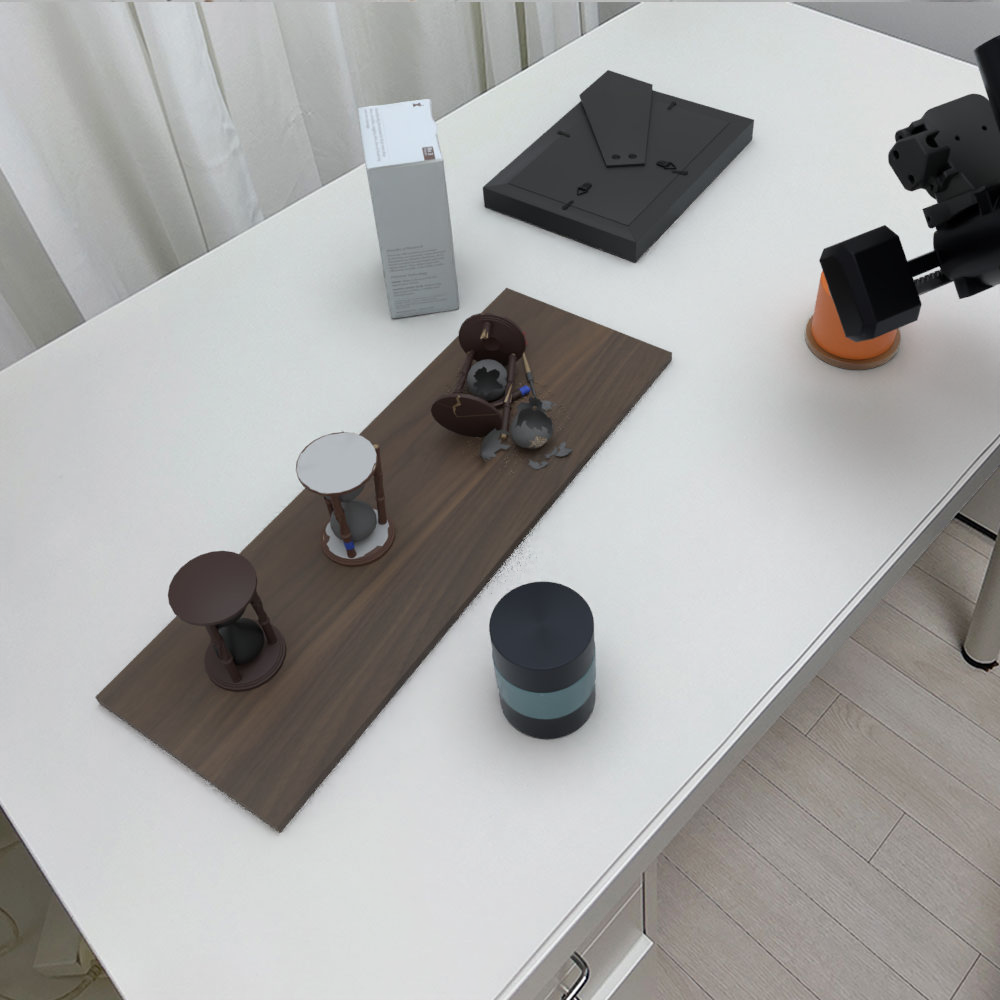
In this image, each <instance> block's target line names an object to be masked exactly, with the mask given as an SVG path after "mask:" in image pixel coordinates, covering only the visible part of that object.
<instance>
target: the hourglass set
mask: <svg viewBox="0 0 1000 1000" xmlns="http://www.w3.org/2000/svg"><path fill="white" fill-rule="evenodd" d="M672 360H673V352H671V351H670V350H667V349H665V348H661V347H659V346H657V345H654V344H652V343H648V342H646V341H644V340H641V339H639V338H636V337H634V336H631V335H628V334H625V333H623V332H620V331H619V330H615V329H613V328H610V327H608V326H605V325H603V324H601V323H598V322H595V321H593V320H590V319H587V318H585V317H582V316H580V315H577V314H575V313H573V312H570V311H568V310H565V309H563V308H559V307H557V306H556V305H555V306H554V305H552V304H549V303H547V302H545V301H542V300H539V299H537V298H534V297H533V296H528V295H526V294H524V293H522V292H519V291H516V290H513V289H511V288H509V287H506V288H504V289H503V291H501V292H500V293H499V295H497V296H496V297H495V299H493V300H492V301H491V303H489V304H488V306H486V308H485V309H483V310H482V311H481V312H480V313H476V314H472V315H471V316H469V317H467V318H466V319H465V320H464V321H463V322H462V323H461V325H460V326H459V331H458V335H457V336H456V337H455V338H454V339H453V340H452V341H451V342H450V343H449V344H448V345H447V346H446V347H445V348H444V349H443V350H442V351H441V352H440V353H438V355H437V356H436V357H435V358H434V359H433V360H432V361H431V362H430V363H429V364H428V365H427V366H426V367H425V368H424V369H423V370H422V371H421V372H420V373H419V374H418V375H417V376H416V377H415V378H414V379H413V380H412V381H411V382H410V383H409V384H408V385H407V386H406V387H405V388H404V389H403V390H401V392H400V393H399V394H398V395H397V396H396V397H395V398H394V399H393V400H392V401H391V402H390V403H389V404H387V406H386V407H385V408H384V409H383V410H382V411H381V412H380V413H379V414H377V416H376V417H375V418H373V420H372V421H370V423H369V424H367V426H366V427H365V428H364V429H363V430H362V431H361V432H360V433H359V434H357V433H355V432H347V431H341V432H339V431H338V432H331V433H327V434H325V435H321V436H319V437H318V438H316V439H314V440H312V441H311V442H309V444H307V445H306V446H305V447H304V448H303V449H302V451H301V452H300V453H299V455H298V458H297V460H296V462H295V463H296V464H295V472H296V476H297V479H298V481H299V483H300V484H301V485H302V487H303V488H304V489H302V491H300V493H298V494H297V496H295V497H294V498H293V499H292V500H291V502H289V503H288V504H287V506H285V508H284V509H282V510H281V512H280V513H278V515H277V516H275V517H274V518H273V519H272V520H271V521H270V523H269V524H267V525H266V526H265V527H264V528H263V530H261V531H260V532H259V533H258V534H257V535H256V536H255V537H254V538H253V540H252V541H250V542H249V543H248V544H247V545H246V546H245V547H244V548H243V549H242V550H241V551H240V552H238V553H237V552H235V551H228V550H217V551H216V550H215V551H214V550H213V551H209V552H205V553H202V554H200V555H198V556H196V557H194V558H192V559H190V560H188V561H187V562H186V563H185V564H184V565H182V566H180V568H179V569H178V571H177V572H176V573H175V574H174V575H173V577H172V579H171V581H170V583H169V586H168V592H167V599H168V605H169V606H170V608H171V610H172V613H174V615H175V617H174V618H173V619H172V620H171V621H170V622H169V623H168V624H167V625H166V626H165V627H163V629H162V630H161V631H160V632H159V633H158V634H156V635H155V637H154V638H153V639H152V640H151V641H150V642H149V643H148V644H147V645H146V646H144V648H143V649H142V650H141V651H140V652H139V653H138V654H137V655H136V656H135V657H134V658H133V659H132V660H131V661H130V662H129V663H127V664H126V666H125V667H124V668H122V670H121V671H120V672H118V674H117V675H116V676H114V677H113V679H111V681H110V682H109V683H107V684H106V686H105V687H104V688H103V689H102V690H100V692H99V693H97V695H96V696H94V699H96V700H97V702H98V703H99V705H101V706H103V708H105V709H107V710H108V711H109V712H111V713H112V714H114V715H115V716H116V717H117V718H119V719H120V720H122V721H123V722H124V723H126V724H128V726H130V727H132V728H133V729H134V730H136V731H137V732H139V733H140V734H142V736H144V737H145V738H146V739H148V740H150V741H151V742H152V743H154V744H155V745H156V746H158V747H159V748H161V749H162V750H163V751H165V752H167V753H168V754H169V755H170V756H172V757H173V758H175V759H176V760H177V761H179V762H181V764H183V765H184V766H186V767H187V768H189V769H190V770H192V771H193V772H194V773H196V774H197V775H198V776H200V777H202V778H203V779H204V780H206V781H207V782H208V783H210V785H212V786H214V787H215V788H217V789H218V790H219V791H221V792H222V793H224V794H225V795H226V796H227V797H229V798H231V800H233V801H235V802H236V803H237V804H239V805H240V806H242V807H243V808H244V809H246V810H247V811H249V812H250V813H251V814H253V815H254V816H256V817H257V818H258V819H260V820H261V821H262V822H264V823H266V825H268V826H270V827H271V828H272V829H273V830H275V831H277V832H278V833H279V834H281V832H282V831H283V830H284V829H285V827H286V826H287V825H288V824H289V823H290V822H291V820H292V819H293V818H294V817H295V816H296V814H297V813H298V812H299V811H300V810H301V809H302V807H303V806H304V805H305V804H306V802H307V801H308V800H309V799H310V797H311V796H312V795H313V794H314V793H315V791H316V790H317V789H318V788H319V786H321V784H322V783H323V782H324V781H325V779H326V778H327V777H328V776H329V775H330V773H331V772H332V771H333V770H334V769H335V768H336V766H338V764H339V762H340V761H341V760H342V759H343V758H344V756H345V755H346V754H347V753H348V752H349V750H350V749H351V748H352V747H353V745H354V744H355V743H356V742H357V741H358V740H359V739H360V737H361V736H362V735H363V733H364V732H365V731H366V730H367V729H368V727H369V726H370V725H371V724H372V723H373V722H374V720H375V719H376V718H377V717H378V716H379V714H380V713H381V712H382V710H383V709H384V708H385V707H386V706H387V704H388V703H389V702H390V701H391V700H392V698H394V696H395V695H396V693H398V692H399V690H400V689H401V688H402V686H403V685H404V684H405V683H406V682H407V681H408V679H409V678H410V677H411V675H412V674H413V673H414V672H415V671H416V670H417V669H418V668H419V666H420V665H421V664H422V662H423V661H424V660H425V659H426V657H427V656H428V655H429V654H430V653H431V651H432V650H433V649H434V648H435V646H437V644H438V643H439V642H440V640H441V639H442V638H443V637H444V636H445V635H446V634H447V632H448V631H449V630H450V628H451V627H452V626H453V625H454V623H455V622H457V620H458V619H459V618H460V617H461V616H462V614H463V613H464V612H465V610H467V608H468V607H469V605H470V604H471V603H472V602H473V601H474V599H475V598H476V597H477V596H478V595H479V593H480V592H481V591H482V590H483V589H484V588H485V586H486V585H487V584H488V582H490V580H492V578H493V577H494V576H495V574H496V573H497V572H498V571H499V569H500V568H501V567H502V566H503V564H504V563H505V562H506V561H507V560H508V559H509V558H510V556H511V555H512V554H513V553H514V551H515V550H516V549H517V547H519V545H520V544H521V543H522V542H523V540H524V539H525V538H526V537H527V536H528V535H529V533H530V532H531V531H532V529H533V528H534V527H535V526H536V525H537V524H538V522H539V521H540V520H541V519H542V518H543V516H544V515H545V514H546V513H547V512H548V510H549V509H550V508H551V507H552V505H553V504H554V503H556V500H557V499H558V498H559V497H560V496H561V495H562V493H563V492H564V491H565V490H566V488H567V487H568V486H569V485H570V484H571V482H572V481H573V480H574V479H575V478H576V477H577V475H578V474H579V473H580V472H581V471H582V469H583V468H584V467H585V466H586V465H587V463H588V462H589V461H590V459H591V458H592V457H593V456H594V455H595V453H596V452H597V451H598V450H599V449H600V448H601V446H602V445H603V444H604V443H605V442H606V440H607V439H608V438H609V437H610V436H611V434H612V433H613V432H614V431H615V429H616V428H617V427H618V426H619V425H620V423H621V422H622V421H623V420H624V418H625V417H626V416H627V415H628V414H629V413H630V411H632V409H633V408H634V407H635V406H636V404H637V403H638V402H639V400H640V399H641V398H642V397H643V396H644V394H645V393H646V392H647V390H648V389H649V388H650V387H651V386H652V384H653V383H655V381H656V380H657V379H658V377H660V375H661V373H663V372H664V370H665V369H666V368H667V367H668V365H669V364H670V363H671V362H672Z"/></svg>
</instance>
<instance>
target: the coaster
mask: <svg viewBox="0 0 1000 1000" xmlns="http://www.w3.org/2000/svg"><path fill="white" fill-rule="evenodd" d="M813 315H814V313H813V314H812V315H811V316H810V318H808V320H807V323H806V326H805V331H804V337H805V341H806V344H807V345H806V346H807V347H808V348H809V350H810V351H811V352H812V354H813V355H814V356H816V357H817V358H818V359H820V360H821V361H823V362H824V363H826V364H829V365H831V366H834V367H836V368H841V369H845V370H853V371H854V370H855V371H856V370H859V371H860V370H861V371H862V370H869V369H874V368H877V367H880V366H883V365H885V364H886V363H888V362H889V361H890V360H892V359H893V358H894V357H895V355H896V354H897V352H898V350H899V349H900V345H901V341H902V340H901V339H902V338H901V331H900V328H898V329H897V332H896V336H895V340H894V343H893V344H892V346H891V347H890V348H889V349H888V350H887V351H886V352H884V353H883V354H881V355H879V356H877V357H874V358H869V359H863V360H853V359H845V358H841V357H838V356H835V355H833V354H830V353H828V352H827V351H825V350H824V349H822V348H821V347H820V346H819V345H818V344H817V343H816V341H815V340H814V338H813V336H812V332H811V326H812V320H813Z"/></svg>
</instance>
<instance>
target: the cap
mask: <svg viewBox="0 0 1000 1000" xmlns="http://www.w3.org/2000/svg"><path fill="white" fill-rule="evenodd" d="M813 314H814V315H813ZM813 314H812V315H813V320H812V326H811V332H812V336H813V338H814V340H815V341H816V343H817V344H818V345H819V346H820V347H821V348H822V349H824V350H825V351H827V352H828V353H830V354H833V355H835V356H838V357H841V358H845V359H853V360H863V359H869V358H874V357H877V356H879V355H881V354H883V353H884V352H886V351H887V350H888V349H889V348H890V347H891V346H892V344H893V343H894V340H895V336H896V332H897V329H895V330H893V331H891V332H888V333H886V334H883V335H881V336H879V337H876V338H874V339H870V340H865V341H861V342H854V341H852V340H850V339H849V338H847V337H846V336H845V333H844V330H843V327H842V324H841V322H840V319H839V316H838V313H837V310H836V307H835V304H834V301H833V300H832V297H831V295H830V292H829V289H828V284H827V281H826V278H825V275H824V273H823V270H821V273H820V278H819V284H818V289H817V294H816V300H815V305H814V310H813Z"/></svg>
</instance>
